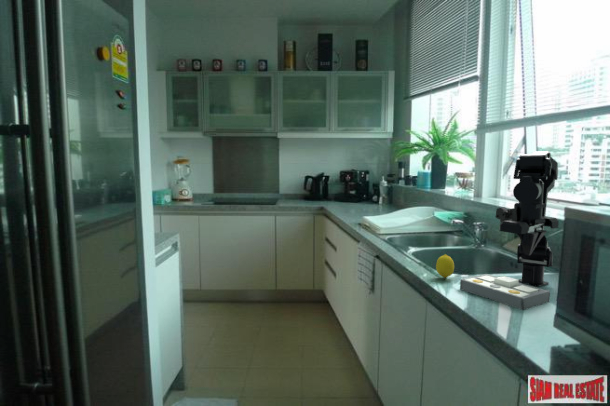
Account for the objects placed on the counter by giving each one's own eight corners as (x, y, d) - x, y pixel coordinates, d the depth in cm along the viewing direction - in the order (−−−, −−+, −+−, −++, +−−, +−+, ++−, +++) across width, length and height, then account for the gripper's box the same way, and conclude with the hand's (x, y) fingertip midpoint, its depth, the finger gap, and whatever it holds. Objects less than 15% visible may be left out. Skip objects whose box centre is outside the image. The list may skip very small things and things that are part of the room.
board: (485, 283, 118) (486, 273, 118) (549, 302, 101) (550, 290, 101) (460, 289, 112) (460, 278, 112) (522, 310, 96) (523, 297, 95)
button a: (486, 283, 115) (486, 275, 115) (499, 287, 111) (500, 279, 111) (477, 285, 113) (477, 277, 113) (490, 289, 109) (490, 281, 109)
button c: (521, 293, 106) (522, 285, 105) (537, 298, 102) (538, 289, 102) (512, 296, 104) (512, 287, 103) (528, 301, 100) (528, 292, 100)
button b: (503, 284, 110) (503, 276, 110) (518, 288, 107) (518, 279, 106) (494, 286, 108) (494, 278, 108) (508, 291, 104) (509, 282, 104)
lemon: (449, 275, 126) (450, 252, 125) (456, 280, 121) (457, 256, 120) (433, 276, 126) (433, 252, 125) (439, 281, 121) (440, 256, 120)
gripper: (522, 195, 116) (519, 245, 117) (482, 199, 107) (480, 253, 108) (561, 198, 106) (557, 252, 108) (521, 202, 97) (518, 261, 99)
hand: (527, 254), depth 106 cm, fingers closed
